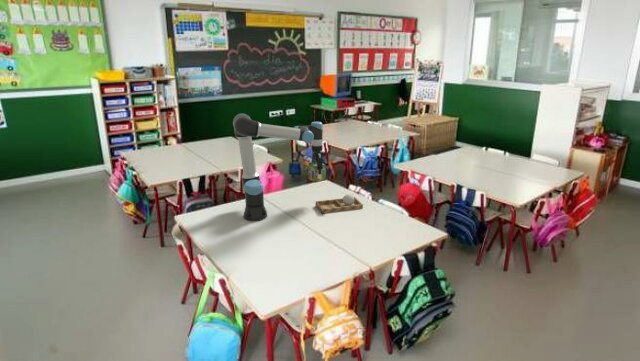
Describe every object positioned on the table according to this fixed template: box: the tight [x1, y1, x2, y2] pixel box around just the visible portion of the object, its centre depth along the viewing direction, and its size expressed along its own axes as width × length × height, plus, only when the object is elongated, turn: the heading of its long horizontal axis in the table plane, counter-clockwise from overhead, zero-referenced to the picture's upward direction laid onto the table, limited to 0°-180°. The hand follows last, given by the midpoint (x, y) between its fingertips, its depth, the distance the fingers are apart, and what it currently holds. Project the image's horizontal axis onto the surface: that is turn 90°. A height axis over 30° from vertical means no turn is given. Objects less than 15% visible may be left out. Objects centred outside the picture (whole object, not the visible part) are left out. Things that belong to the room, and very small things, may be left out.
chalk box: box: [307, 159, 327, 183], centre depth 282 cm, size 9×9×15 cm
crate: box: [315, 196, 364, 215], centre depth 280 cm, size 29×15×4 cm, turn 107°
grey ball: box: [342, 193, 355, 206], centre depth 281 cm, size 8×8×8 cm
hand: (317, 176), depth 283 cm, fingers closed on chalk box, 10 cm apart
